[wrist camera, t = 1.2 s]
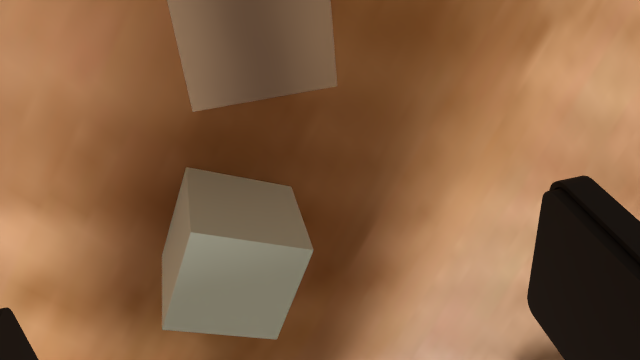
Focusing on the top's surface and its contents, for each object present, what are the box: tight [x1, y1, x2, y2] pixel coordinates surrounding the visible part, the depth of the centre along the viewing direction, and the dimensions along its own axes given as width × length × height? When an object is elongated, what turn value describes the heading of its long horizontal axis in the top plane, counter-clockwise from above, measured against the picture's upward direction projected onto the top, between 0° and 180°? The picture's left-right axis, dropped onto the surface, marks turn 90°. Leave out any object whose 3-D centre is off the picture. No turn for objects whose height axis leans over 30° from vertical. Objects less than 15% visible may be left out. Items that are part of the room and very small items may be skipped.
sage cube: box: [162, 167, 314, 340], centre depth 31 cm, size 6×6×6 cm
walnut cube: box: [167, 0, 337, 112], centre depth 25 cm, size 6×6×6 cm
